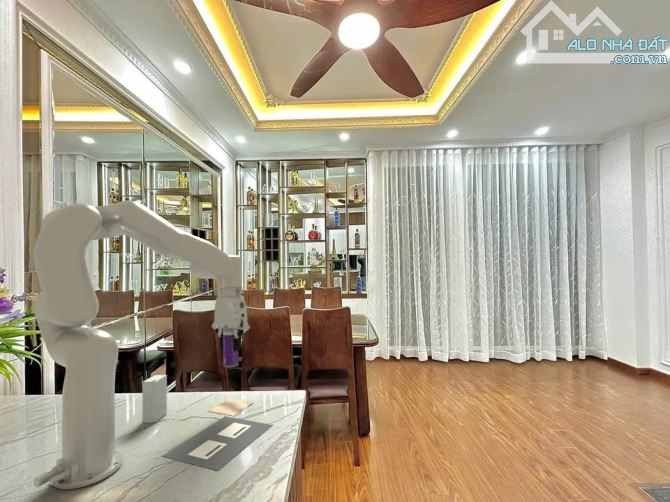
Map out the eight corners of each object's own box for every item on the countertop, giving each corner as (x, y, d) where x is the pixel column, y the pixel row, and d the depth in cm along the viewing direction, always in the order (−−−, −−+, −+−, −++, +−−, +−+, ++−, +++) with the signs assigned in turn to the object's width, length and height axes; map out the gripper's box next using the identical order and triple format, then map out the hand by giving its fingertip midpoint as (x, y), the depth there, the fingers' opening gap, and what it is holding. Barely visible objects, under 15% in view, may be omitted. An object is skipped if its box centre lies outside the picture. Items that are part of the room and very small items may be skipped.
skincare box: (154, 413, 103) (153, 374, 104) (167, 413, 103) (167, 374, 103) (141, 423, 97) (141, 381, 97) (156, 423, 97) (155, 381, 97)
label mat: (217, 470, 73) (217, 470, 73) (161, 456, 80) (161, 455, 80) (272, 425, 93) (272, 424, 93) (224, 416, 100) (224, 415, 100)
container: (234, 367, 104) (233, 319, 105) (220, 367, 105) (219, 319, 106) (241, 363, 109) (240, 317, 109) (228, 362, 110) (227, 317, 110)
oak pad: (233, 416, 100) (233, 415, 100) (207, 411, 104) (207, 411, 104) (253, 402, 109) (253, 402, 109) (229, 399, 113) (229, 398, 113)
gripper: (258, 292, 108) (259, 348, 107) (217, 291, 115) (218, 345, 114) (243, 294, 101) (244, 354, 101) (200, 293, 108) (201, 350, 107)
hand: (230, 348), depth 107 cm, fingers closed on container, 4 cm apart
